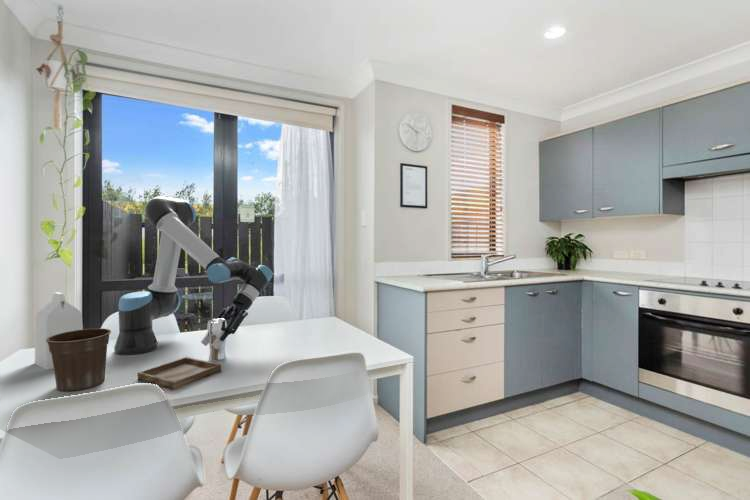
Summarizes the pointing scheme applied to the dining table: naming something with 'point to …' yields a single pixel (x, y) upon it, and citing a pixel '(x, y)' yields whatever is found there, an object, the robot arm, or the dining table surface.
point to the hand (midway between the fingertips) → (208, 345)
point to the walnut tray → (179, 373)
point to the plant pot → (79, 358)
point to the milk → (54, 326)
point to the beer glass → (213, 332)
